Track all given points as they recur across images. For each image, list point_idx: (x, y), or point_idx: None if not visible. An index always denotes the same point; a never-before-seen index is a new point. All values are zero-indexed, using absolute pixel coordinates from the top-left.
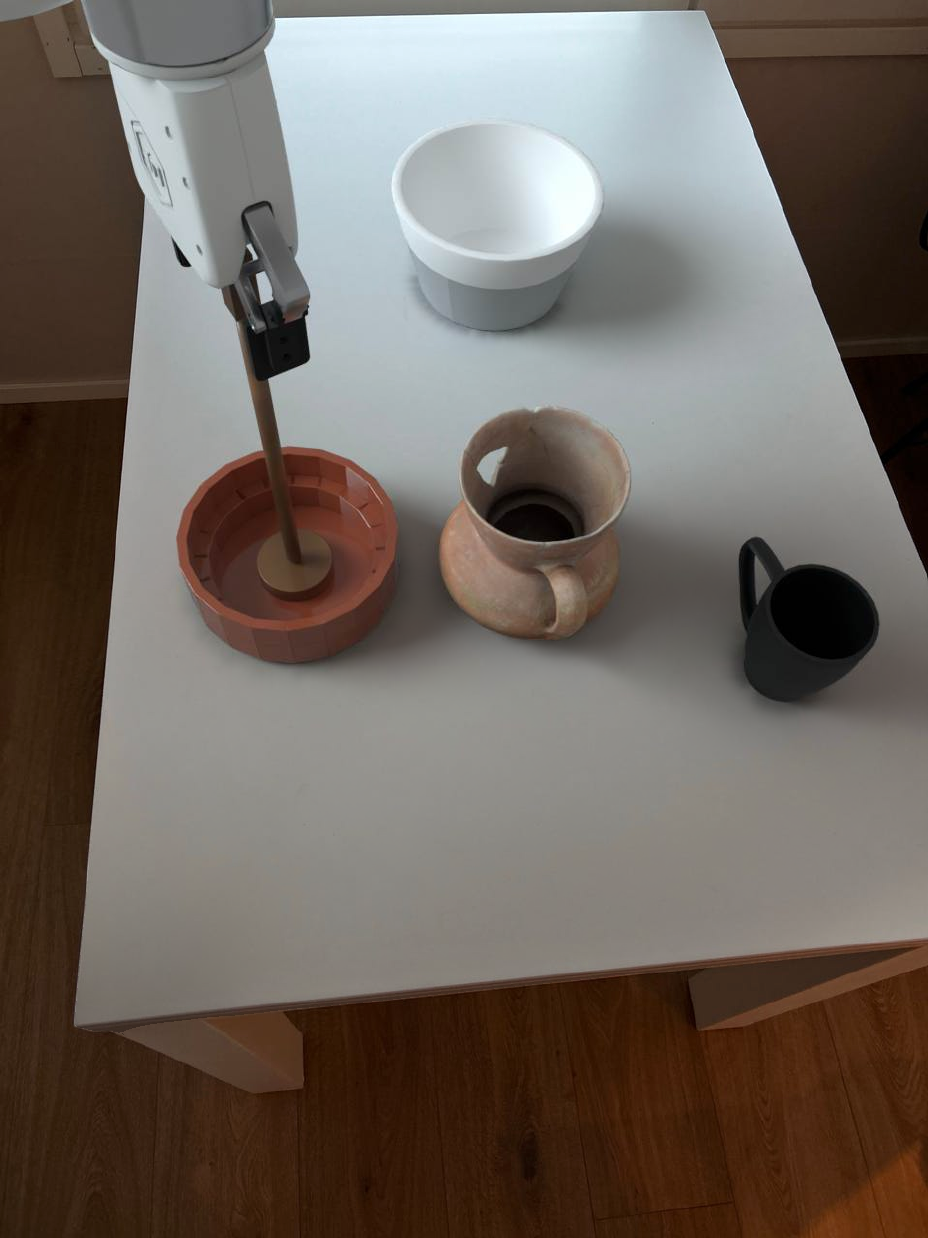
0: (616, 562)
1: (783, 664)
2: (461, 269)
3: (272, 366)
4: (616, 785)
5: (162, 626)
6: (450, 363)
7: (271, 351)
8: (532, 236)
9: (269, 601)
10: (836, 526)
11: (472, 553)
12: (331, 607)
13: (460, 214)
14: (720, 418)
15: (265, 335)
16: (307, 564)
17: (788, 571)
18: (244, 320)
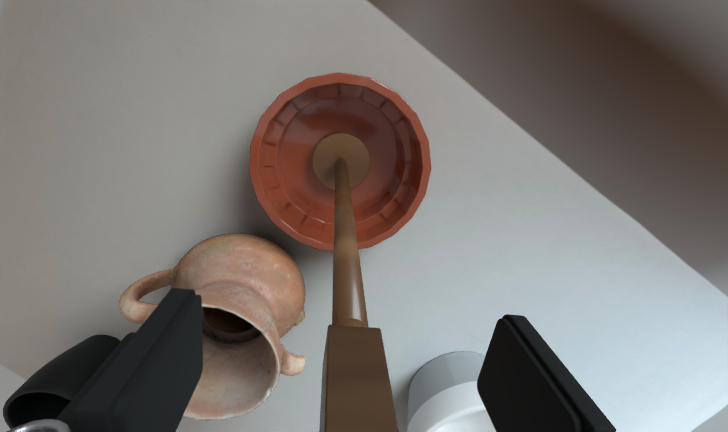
0: None
1: (42, 374)
2: (447, 401)
3: (124, 339)
4: (77, 232)
5: (364, 45)
6: (418, 334)
7: (90, 378)
8: (460, 426)
9: (329, 127)
10: None
11: (244, 268)
12: (298, 161)
13: None
14: (278, 425)
15: (74, 413)
16: (331, 168)
17: None
18: (103, 417)
